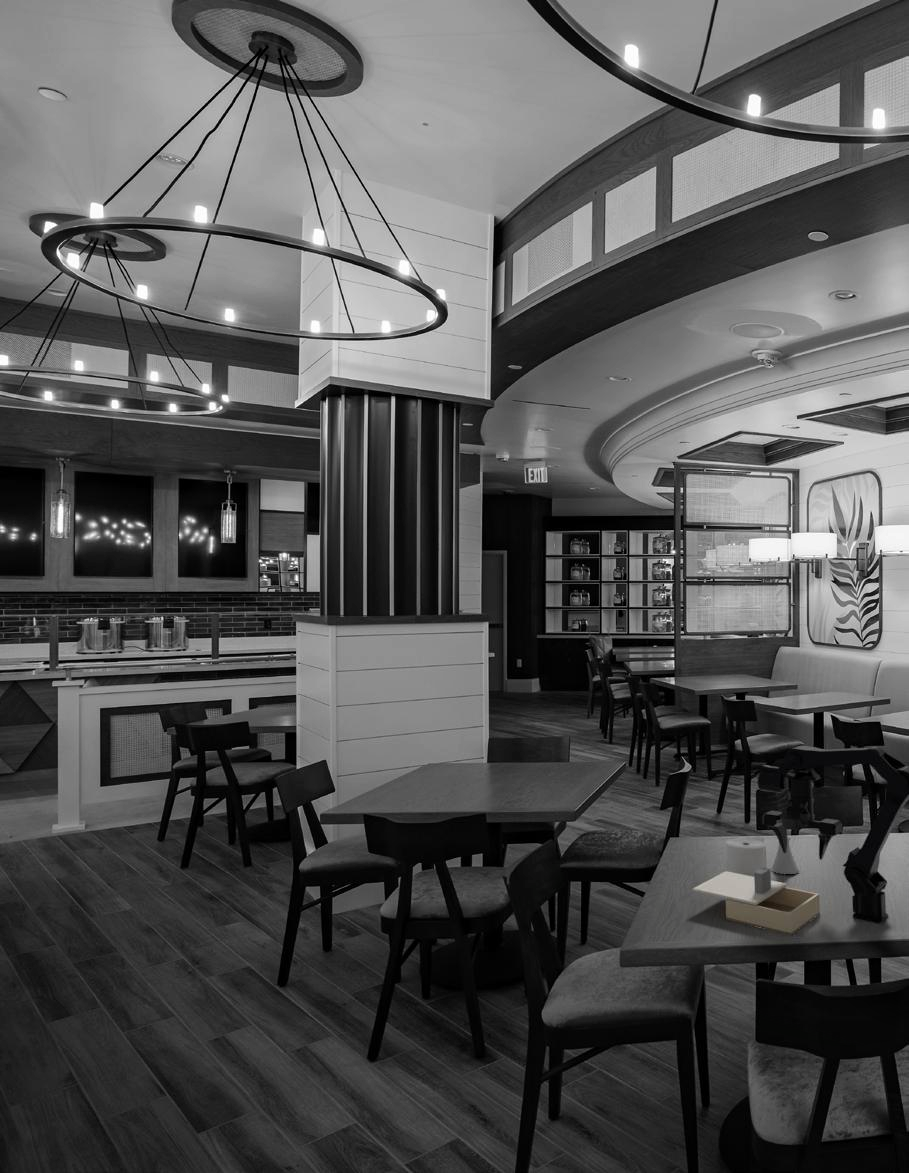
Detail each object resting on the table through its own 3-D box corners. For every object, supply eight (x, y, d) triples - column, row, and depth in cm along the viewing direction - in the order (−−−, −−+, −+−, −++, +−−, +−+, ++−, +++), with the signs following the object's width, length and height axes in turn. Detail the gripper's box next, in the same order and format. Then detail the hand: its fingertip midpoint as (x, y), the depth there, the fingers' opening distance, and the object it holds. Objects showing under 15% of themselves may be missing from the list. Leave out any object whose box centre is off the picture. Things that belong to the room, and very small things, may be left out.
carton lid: (786, 885, 216) (785, 863, 216) (755, 905, 202) (755, 881, 202) (725, 873, 227) (725, 852, 227) (693, 890, 214) (692, 868, 214)
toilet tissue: (726, 882, 235) (725, 846, 236) (728, 870, 247) (727, 835, 247) (767, 886, 232) (766, 849, 232) (767, 873, 243) (765, 838, 243)
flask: (784, 877, 239) (783, 841, 239) (766, 870, 246) (765, 835, 246) (804, 873, 242) (802, 838, 242) (785, 867, 249) (784, 832, 249)
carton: (819, 914, 210) (819, 894, 210) (791, 935, 197) (790, 914, 197) (757, 900, 221) (756, 881, 221) (726, 919, 208) (725, 899, 208)
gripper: (752, 796, 220) (754, 856, 219) (826, 806, 207) (828, 870, 206) (770, 789, 228) (772, 847, 227) (842, 798, 215) (844, 859, 214)
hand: (802, 856), depth 219 cm, fingers open, 9 cm apart
